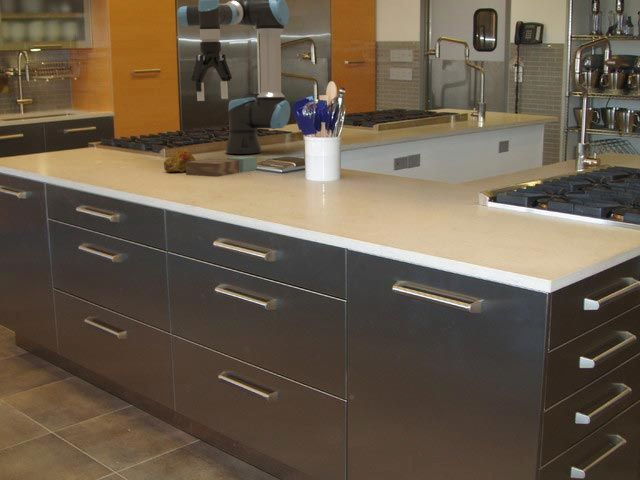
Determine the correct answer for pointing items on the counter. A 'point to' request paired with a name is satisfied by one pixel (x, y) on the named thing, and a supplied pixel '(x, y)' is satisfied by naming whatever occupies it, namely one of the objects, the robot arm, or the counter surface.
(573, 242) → the counter surface
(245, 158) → the teal block
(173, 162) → the rock
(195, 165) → the walnut block
